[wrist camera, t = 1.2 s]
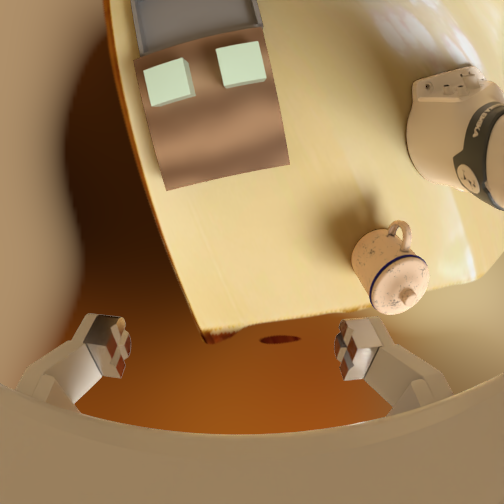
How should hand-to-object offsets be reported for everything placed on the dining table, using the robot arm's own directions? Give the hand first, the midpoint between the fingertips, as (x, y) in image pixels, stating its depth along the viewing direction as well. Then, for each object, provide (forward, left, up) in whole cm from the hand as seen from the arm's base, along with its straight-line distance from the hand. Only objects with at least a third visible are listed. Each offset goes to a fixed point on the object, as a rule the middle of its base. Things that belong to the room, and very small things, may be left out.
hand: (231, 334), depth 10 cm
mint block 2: (-8, -9, -23) cm, 26 cm away
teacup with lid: (-9, +21, -27) cm, 35 cm away
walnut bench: (-3, -8, -27) cm, 28 cm away
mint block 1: (-2, -13, -23) cm, 26 cm away
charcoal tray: (-10, -20, -27) cm, 35 cm away
